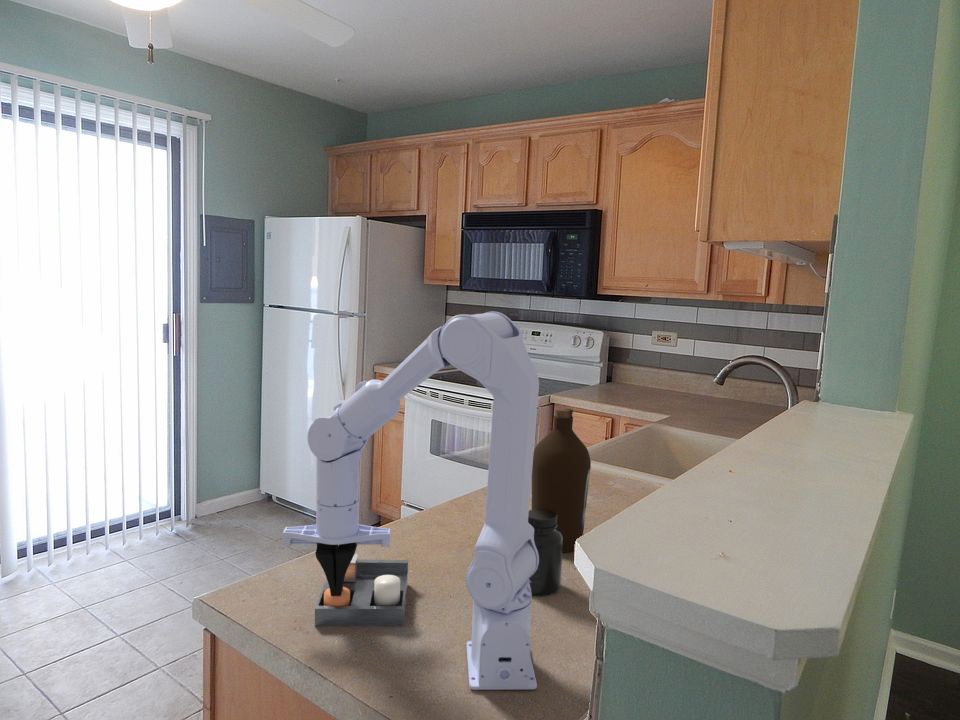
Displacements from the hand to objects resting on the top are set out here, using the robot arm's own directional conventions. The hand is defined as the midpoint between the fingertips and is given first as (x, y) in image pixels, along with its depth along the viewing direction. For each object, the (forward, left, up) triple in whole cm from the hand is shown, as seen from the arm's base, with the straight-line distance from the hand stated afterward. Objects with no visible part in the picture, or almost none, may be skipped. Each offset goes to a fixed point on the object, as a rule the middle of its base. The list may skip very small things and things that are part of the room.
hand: (336, 592), depth 91 cm
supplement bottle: (+8, -30, -3) cm, 31 cm away
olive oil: (+25, -36, -3) cm, 44 cm away
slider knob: (+6, -1, -1) cm, 6 cm away
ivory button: (0, -7, -1) cm, 7 cm away
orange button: (0, 0, -3) cm, 3 cm away
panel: (+3, -4, -3) cm, 6 cm away
